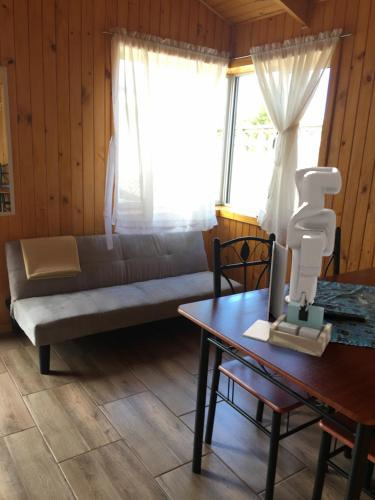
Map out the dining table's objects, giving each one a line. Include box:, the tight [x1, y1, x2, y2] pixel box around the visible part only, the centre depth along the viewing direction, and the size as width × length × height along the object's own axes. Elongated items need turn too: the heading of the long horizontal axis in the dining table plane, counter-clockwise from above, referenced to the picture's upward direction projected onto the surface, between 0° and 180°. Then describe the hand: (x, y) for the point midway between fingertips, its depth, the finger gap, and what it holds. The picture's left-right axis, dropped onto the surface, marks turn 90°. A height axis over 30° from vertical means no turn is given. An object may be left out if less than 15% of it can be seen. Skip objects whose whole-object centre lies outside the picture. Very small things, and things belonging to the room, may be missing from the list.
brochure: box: [266, 240, 289, 322], centre depth 166 cm, size 14×6×30 cm, turn 168°
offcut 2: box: [299, 326, 320, 340], centre depth 143 cm, size 4×6×6 cm, turn 60°
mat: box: [242, 319, 274, 343], centre depth 156 cm, size 16×9×1 cm, turn 150°
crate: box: [267, 312, 333, 358], centre depth 148 cm, size 16×18×6 cm
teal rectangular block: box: [286, 301, 325, 332], centre depth 151 cm, size 4×12×12 cm, turn 60°
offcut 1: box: [278, 322, 298, 336], centre depth 147 cm, size 4×6×6 cm, turn 60°
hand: (304, 317), depth 150 cm, fingers closed on teal rectangular block, 4 cm apart
